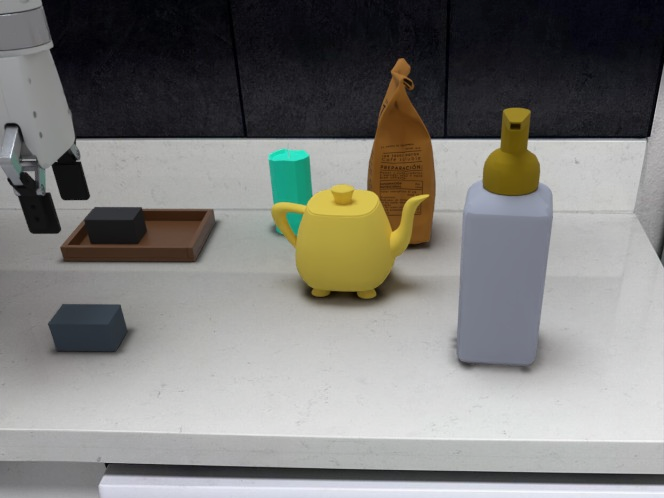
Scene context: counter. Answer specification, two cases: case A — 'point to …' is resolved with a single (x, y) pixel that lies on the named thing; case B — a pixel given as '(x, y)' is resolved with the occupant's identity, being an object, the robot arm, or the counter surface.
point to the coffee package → (403, 158)
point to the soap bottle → (504, 253)
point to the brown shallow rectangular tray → (149, 238)
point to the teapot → (345, 239)
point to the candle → (291, 181)
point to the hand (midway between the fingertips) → (61, 215)
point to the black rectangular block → (115, 225)
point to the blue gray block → (88, 327)
